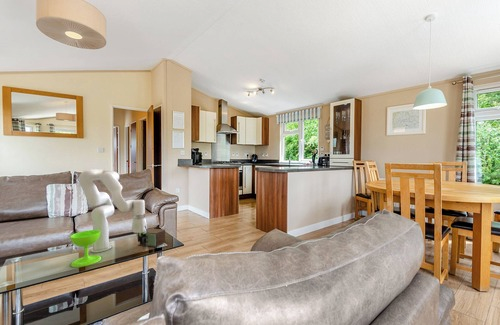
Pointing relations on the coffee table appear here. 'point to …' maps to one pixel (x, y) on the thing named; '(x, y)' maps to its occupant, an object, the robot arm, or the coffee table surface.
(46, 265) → the coffee table surface
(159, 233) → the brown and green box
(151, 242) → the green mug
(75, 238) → the wineglass
